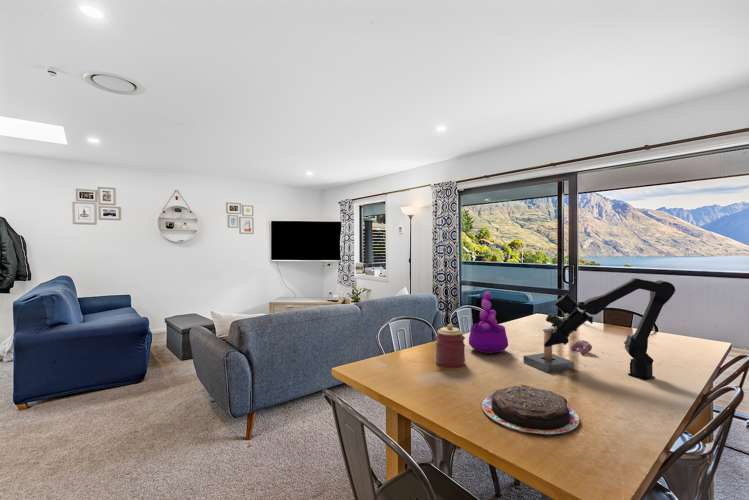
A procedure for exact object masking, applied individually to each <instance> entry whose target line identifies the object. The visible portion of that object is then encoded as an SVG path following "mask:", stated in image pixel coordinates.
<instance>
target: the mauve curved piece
mask: <svg viewBox="0 0 749 500" xmlns="http://www.w3.org/2000/svg"><path fill="white" fill-rule="evenodd" d="M570 350H571V351H575V350H578V351H579V353H580V355H581V356H585V355H587V354H588V353H589V352H591V350H593V345H592V344H591V343H590V342H589V341H586V340H584V339H578V340H577V341H575V343H573V344H572V345H570Z"/></svg>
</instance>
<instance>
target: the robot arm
mask: <svg viewBox="0 0 749 500" xmlns="http://www.w3.org/2000/svg"><path fill="white" fill-rule="evenodd" d="M637 290H644V291H648V292H649V302H648V304H647V307H646V308H645V310H644V313H643V315H642V318H641V319H640V322H639V324H638V326H637V328H636V330H635V332H634V333H633V334H632V335H630V334H627V337H626V340H625V341H624V342H623V344H624V349H625V351H626V353H628V355H629V356H630V357H631V358H630V362H629V373H627V375H629V376H630V377H634V378H637V379H639V380H643V381H647V380H652V379H656V376H655V375H654V374H653V362H654V359H653V358H652V357H651V356H650V355H649V353H648V352H647V351H648V347H649V337H650V336H651V332H653V329H654V326H655V324H656V322H657V320H658V317H659V316H660V313H661V312H662V309H663V306H665V304H666V303H668V302H669V301H670V300H671V299H672V297H673V295H674V294H675V293H676V287H675V286H674V284H673V283H671V282H669V281H666V280H662V279H661V280H656V281H652V280H647V279H646V280H645V279H642V278H641V279H640V278H637V277H634V278H631V279H630V280H628V281H627V282H625V283H622V284H621V285H619V286H617V287H616V288H613V289H612V290H610V291H608V292H605V293H604V294H601V295H599V296H598V295H597V296H594V297H590V298H587V299H586V300H585V301H578V302H577V301H575V300H574V299H573V298H571V296H570V295H569V294H568V293H566V294H564V295H563V296H561V297H560V298H558V299H557V300H556V301H555V302H554V305H555V306H556V308H558V310H560V311H561V312H562V313H563V314H565V315H566V314H567V317H565V316H564V317H563V318H560V317H559V316H557V315H556V314H553V313H551V312H549V313H548V314H547V316H546V318H545V321H546V322H547V323H551V327H550V328H553V332H552V331H551V333H552V335H551V337H550V338H549V339H548V341H547V342H546V343H545V344H544V343H543V347H544V346H545V347H548V346H552V347H553V346H557V345H560V344H563V345H564V346H566V345H567V344H569V337H570V335H571V334H572V333H573V332H576V331H577V330H578V328H580V327H581V326H582V325H583V324H585V323H586V322H589V323H590V324H593V323H594V321H593V320H594V317H593V316H596V315H598V314H600V313H601V312H602V311H604V310H605V309H606V308H607V307H608V306H609V305H610V304H612V303H614V302H615V301H618V300H620V299H621V298H624V297H626V296H627V295H629V294H631V293H633V292H635V291H637ZM592 315H593V316H592Z"/></svg>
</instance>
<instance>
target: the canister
mask: <svg viewBox="0 0 749 500" xmlns="http://www.w3.org/2000/svg"><path fill="white" fill-rule="evenodd" d="M436 332H437V334H436V335H435V336H434V337H435V339H436V342H435V363H436V364H437V365H438V366H441V367H446V368H459V367H462V366H464V365H465V362H466V358H465V357H466V356H465V353H466V352H465V346H466V345H465V342H464V341H465V339H466V338H465V336H464V335H463V331H462V330H461V329H460V328H457V327H454V326H453V324H451V323H449V324H447V325H446V326H445V327H441V328H439V329H438V330H437V331H436Z"/></svg>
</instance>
